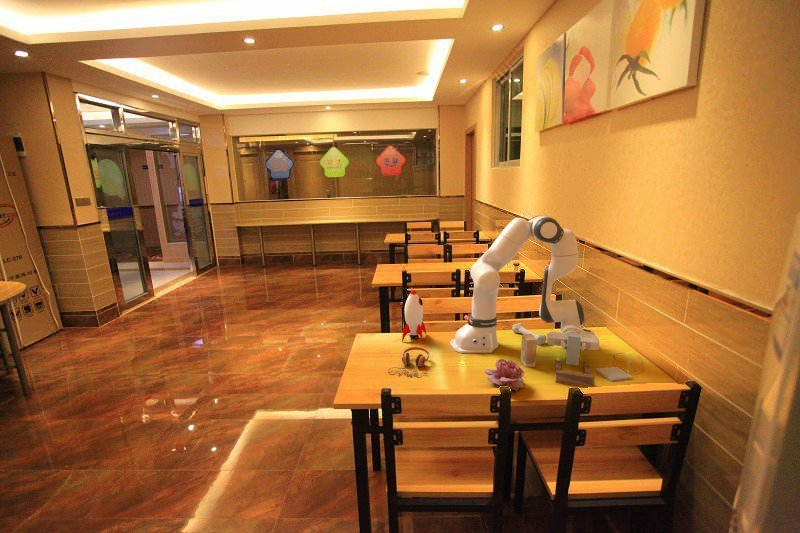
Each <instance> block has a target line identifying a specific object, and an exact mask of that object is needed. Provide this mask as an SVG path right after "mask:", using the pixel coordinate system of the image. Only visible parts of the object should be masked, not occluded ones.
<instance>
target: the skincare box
mask: <svg viewBox="0 0 800 533" xmlns="http://www.w3.org/2000/svg"><path fill="white" fill-rule="evenodd" d="M520 346H521V347H520V348H521V349H520V363H522V364H523V365H524V367H525V368H529V367H530V368H531V367H532V368H533V367H536V361H537V348H538V344H537V339H536V338H535V337H534V336H533V335H532V334H521V345H520Z"/></svg>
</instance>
